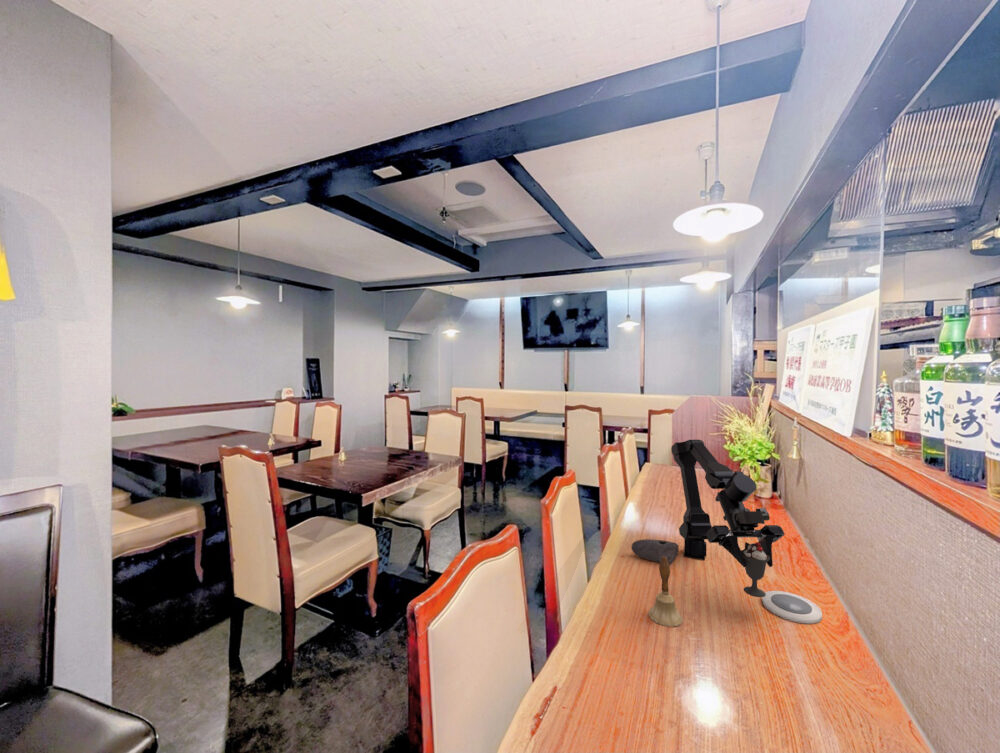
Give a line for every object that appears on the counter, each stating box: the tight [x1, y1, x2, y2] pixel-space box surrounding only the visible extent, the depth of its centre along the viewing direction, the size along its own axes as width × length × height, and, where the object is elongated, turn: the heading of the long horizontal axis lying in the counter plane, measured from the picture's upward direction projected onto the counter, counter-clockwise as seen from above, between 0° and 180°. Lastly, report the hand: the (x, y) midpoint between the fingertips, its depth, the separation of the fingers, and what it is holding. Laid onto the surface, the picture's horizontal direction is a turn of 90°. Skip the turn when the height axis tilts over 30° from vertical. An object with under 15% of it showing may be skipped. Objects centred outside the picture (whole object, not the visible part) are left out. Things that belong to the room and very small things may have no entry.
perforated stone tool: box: [631, 538, 680, 564], centre depth 136 cm, size 15×5×7 cm, turn 62°
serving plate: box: [761, 590, 823, 625], centre depth 108 cm, size 13×13×1 cm
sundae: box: [740, 539, 770, 598], centre depth 106 cm, size 7×7×15 cm
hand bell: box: [648, 556, 684, 627], centre depth 105 cm, size 8×8×16 cm
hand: (758, 566), depth 105 cm, fingers closed on sundae, 6 cm apart
